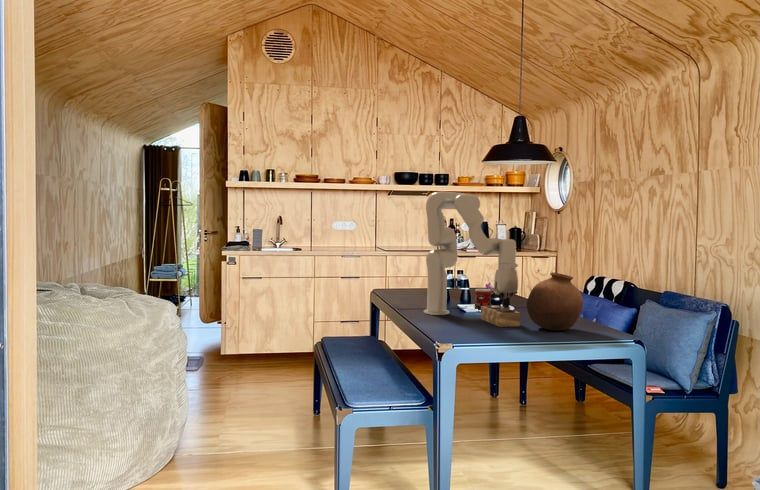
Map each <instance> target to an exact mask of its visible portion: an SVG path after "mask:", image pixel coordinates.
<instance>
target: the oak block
mask: <svg viewBox="0 0 760 490" xmlns="http://www.w3.org/2000/svg"><path fill="white" fill-rule="evenodd" d="M491 306H499V307H494V308H493V307H491ZM502 306H503V305H502ZM502 306H501V305H498V304H496V305H494V304H493V305H492V304H491V305H490V306H481V312H480V320H482V321H485V322H487V323H489V324H492V325H495V326H497V327H499V328H502V327H504V328H505V327H508V326H509V327H521V312H519V311H516V310H513V309H511V308H510V311H501V307H502Z"/></svg>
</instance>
